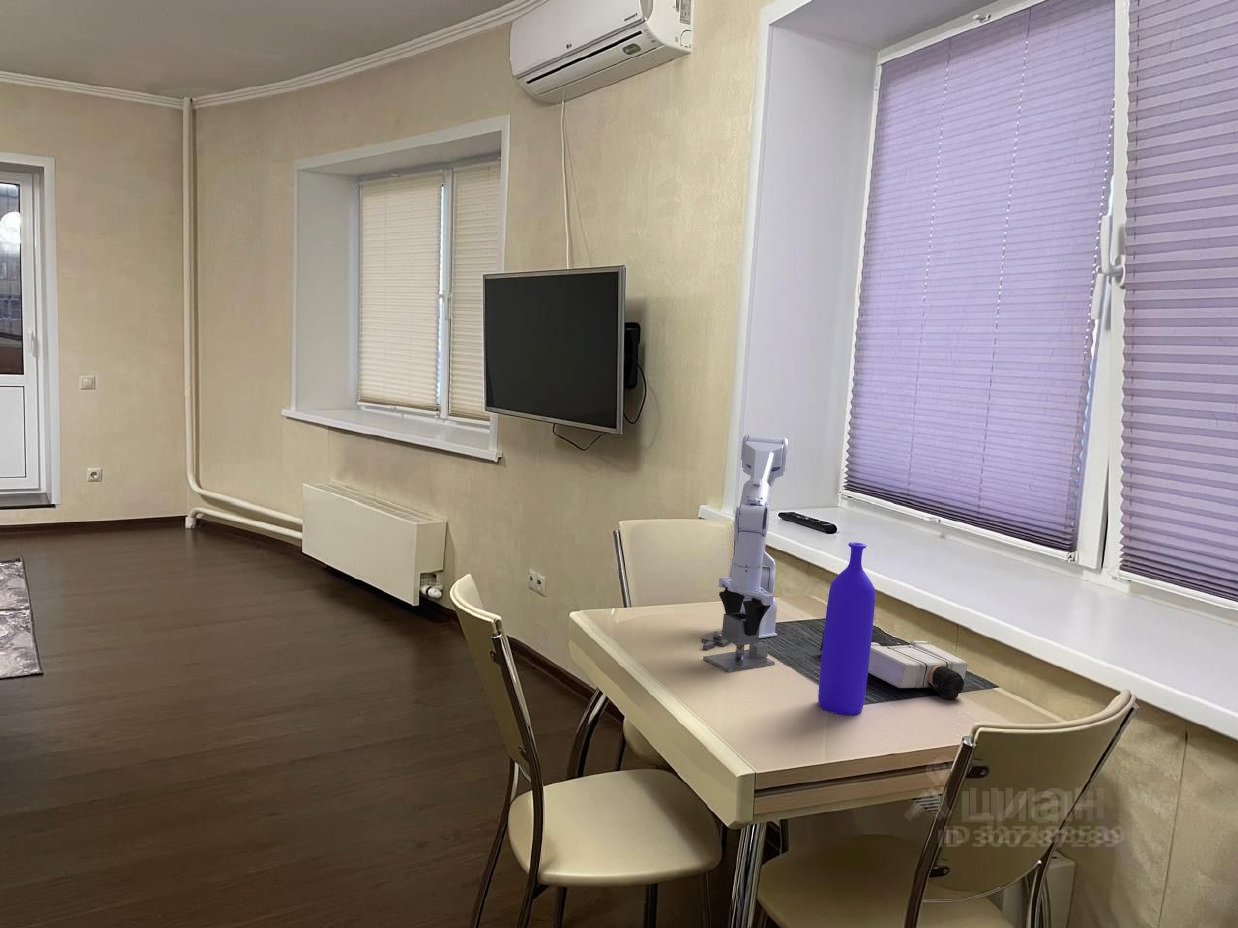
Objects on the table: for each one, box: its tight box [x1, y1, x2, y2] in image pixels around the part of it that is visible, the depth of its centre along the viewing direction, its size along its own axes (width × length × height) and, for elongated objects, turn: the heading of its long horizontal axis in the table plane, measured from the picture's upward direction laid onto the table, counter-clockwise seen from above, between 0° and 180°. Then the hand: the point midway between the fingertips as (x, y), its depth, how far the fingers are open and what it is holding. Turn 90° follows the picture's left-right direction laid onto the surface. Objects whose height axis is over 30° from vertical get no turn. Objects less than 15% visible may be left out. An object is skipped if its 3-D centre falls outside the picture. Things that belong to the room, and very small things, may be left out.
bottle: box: [817, 541, 876, 716], centre depth 168 cm, size 8×8×30 cm
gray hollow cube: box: [721, 612, 760, 646], centre depth 189 cm, size 5×5×5 cm
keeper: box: [702, 641, 776, 673], centre depth 190 cm, size 12×8×4 cm, turn 123°
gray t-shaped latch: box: [701, 631, 732, 651], centre depth 200 cm, size 10×5×2 cm, turn 152°
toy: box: [819, 628, 969, 701], centre depth 189 cm, size 19×7×30 cm
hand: (741, 630), depth 189 cm, fingers closed on gray hollow cube, 5 cm apart
